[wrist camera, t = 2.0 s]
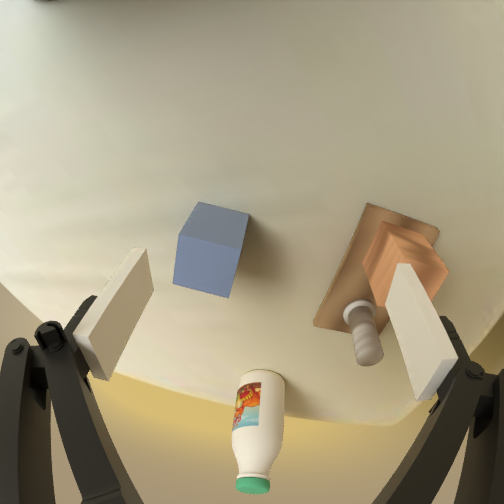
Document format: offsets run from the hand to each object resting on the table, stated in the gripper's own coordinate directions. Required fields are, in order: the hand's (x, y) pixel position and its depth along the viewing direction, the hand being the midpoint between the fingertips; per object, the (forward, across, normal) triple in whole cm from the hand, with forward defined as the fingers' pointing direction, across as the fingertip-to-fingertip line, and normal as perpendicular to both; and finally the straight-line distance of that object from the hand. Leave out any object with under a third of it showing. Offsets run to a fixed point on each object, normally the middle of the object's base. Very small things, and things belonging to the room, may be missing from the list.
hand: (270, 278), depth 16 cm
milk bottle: (+19, 0, -35) cm, 40 cm away
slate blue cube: (+19, -6, -7) cm, 21 cm away
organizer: (+19, +13, -12) cm, 26 cm away
